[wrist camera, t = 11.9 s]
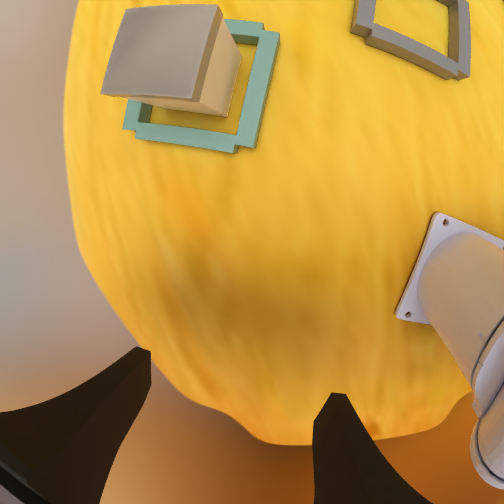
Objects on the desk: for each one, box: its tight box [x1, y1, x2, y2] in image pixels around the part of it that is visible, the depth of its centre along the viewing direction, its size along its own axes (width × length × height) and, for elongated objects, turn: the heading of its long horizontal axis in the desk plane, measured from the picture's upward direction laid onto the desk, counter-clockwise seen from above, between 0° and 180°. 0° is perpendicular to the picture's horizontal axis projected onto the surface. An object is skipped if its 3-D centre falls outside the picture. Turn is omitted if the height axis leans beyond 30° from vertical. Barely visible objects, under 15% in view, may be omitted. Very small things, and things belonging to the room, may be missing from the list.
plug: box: [101, 4, 242, 117], centre depth 11 cm, size 4×4×7 cm
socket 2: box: [350, 0, 471, 80], centre depth 10 cm, size 8×8×2 cm
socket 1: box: [123, 19, 280, 153], centre depth 14 cm, size 8×8×2 cm
